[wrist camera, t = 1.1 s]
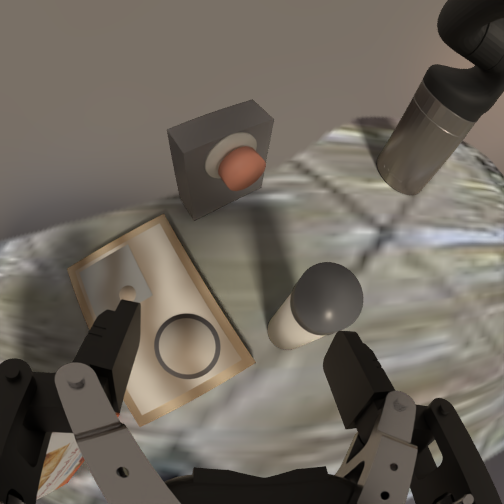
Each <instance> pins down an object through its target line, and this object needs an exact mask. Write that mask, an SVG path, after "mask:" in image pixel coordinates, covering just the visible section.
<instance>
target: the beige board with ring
mask: <svg viewBox="0 0 504 504" xmlns="http://www.w3.org/2000/svg"><path fill="white" fill-rule="evenodd" d="M67 270H68V274H69V277H70V280H71V283H72V286H73V289H74V292H75V294H76V297H77V300H78V303H79V305H80V308H81V311H82V313H83V316H84V318H85V321H86V323H87V326H88V328H89V330H90V329H91V327H92V326H93V323H94V321H95V320H96V318H97V316H98V315H100V314H101V313H102V312H104V311H105V310H107V309H108V310H113V311H115V310H116V308H117V306H118V304H119V303H120V301H121V300H122V299H123V300H128V301H133V302H138V303H140V304H141V335H140V343H139V348H138V351H137V355H136V358H135V361H134V364H133V367H132V371H131V374H130V377H129V381H128V384H127V388H126V391H125V395H124V398H123V400H124V401H125V403H126V405H127V407H128V408H129V410H130V412H131V413H132V415H133V417H134V418H135V420H136V422H137V423H138V425H139V426H140V427H141V426H143V425H145V424H147V423H149V422H151V421H153V420H155V419H157V418H159V417H161V416H163V415H165V414H167V413H169V412H171V411H173V410H175V409H177V408H179V407H181V406H182V405H184V404H186V403H188V402H190V401H192V400H193V399H195V398H197V397H199V396H201V395H202V394H204V393H206V392H208V391H209V390H211V389H213V388H215V387H216V386H218V385H220V384H221V383H223V382H225V381H227V380H228V379H230V378H232V377H233V376H235V375H236V374H238V373H240V372H241V371H243V370H245V369H246V368H248V367H249V366H251V365H253V364H254V363H256V362H255V361H254V359H253V358H252V356H251V355H250V353H249V352H248V350H247V349H246V347H245V346H244V344H243V343H242V341H241V340H240V338H239V337H238V335H237V334H236V332H235V331H234V329H233V327H232V326H231V324H230V323H229V321H228V320H227V318H226V317H225V315H224V314H223V312H222V310H221V309H220V307H219V306H218V304H217V302H216V301H215V299H214V298H213V296H212V294H211V293H210V291H209V290H208V288H207V286H206V285H205V283H204V282H203V280H202V278H201V277H200V275H199V273H198V272H197V270H196V268H195V267H194V265H193V263H192V262H191V260H190V258H189V257H188V255H187V253H186V251H185V250H184V248H183V246H182V245H181V243H180V241H179V239H178V238H177V236H176V234H175V233H174V231H173V229H172V227H171V226H170V224H169V222H168V220H167V218H166V217H165V215H164V214H162V215H160V216H158V217H156V218H155V219H153V220H151V221H149V222H147V223H145V224H143V225H141V226H140V227H138V228H136V229H134V230H132V231H130V232H129V233H127V234H125V235H123V236H121V237H120V238H118V239H116V240H114V241H113V242H111V243H109V244H107V245H106V246H104V247H102V248H100V249H99V250H97V251H95V252H94V253H92V254H90V255H89V256H87V257H85V258H84V259H82V260H80V261H79V262H77V263H75V264H74V265H72V266H70V267H69V268H67Z"/></svg>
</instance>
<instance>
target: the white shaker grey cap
mask: <svg viewBox="0 0 504 504" xmlns="http://www.w3.org/2000/svg"><path fill="white" fill-rule="evenodd" d="M362 307H363V292H362V288H361V285H360V283H359V281H358V279H357V278H356V277H355V275H354V274H353V273H352V272H351V271H350V270H348V269H347V268H345V267H344V266H342V265H340V264H336V263H332V262H323V263H318V264H316V265H313V266H312V267H310V268H309V269H307V270H306V271H305V272H304V274H303V275H302V276H301V278H300V279H299V281H298V282H297V283H296V285H295V286H294V288H293V290H292V292H291V294H290V295H289V296H288V298H287V299H286V300H285V302H284V303H283V304H282V306H281V307H280V308H279V309H278V311H277V312H276V313H275V315H274V316H273V317H272V318H271V320H270V322H269V324H268V336H269V339H270V340H271V342H272V343H273V344H274V345H275V346H276V347H278V348H280V349H283V350H292V349H295V348H298V347H300V346H302V345H305V344H307V343H310V342H312V341H314V340H316V339H319V338H321V337H323V336H326V335H330V334H333V333H336V332H338V331H340V330H342V329H345V328H347V327H349V326H350V325H351V324H353V323H354V322H355V321H356V319H357V318H358V316H359V315H360V313H361V310H362Z"/></svg>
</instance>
